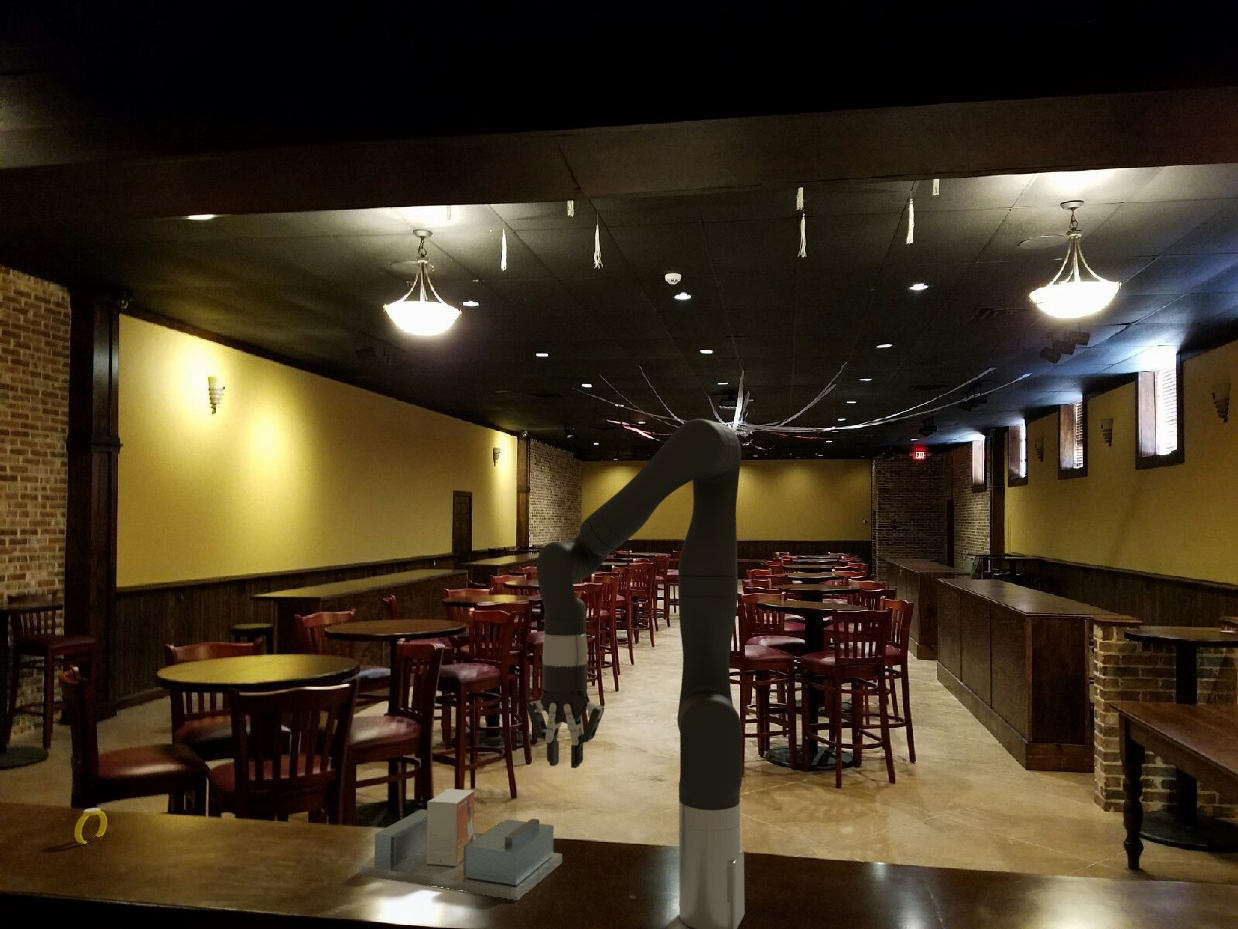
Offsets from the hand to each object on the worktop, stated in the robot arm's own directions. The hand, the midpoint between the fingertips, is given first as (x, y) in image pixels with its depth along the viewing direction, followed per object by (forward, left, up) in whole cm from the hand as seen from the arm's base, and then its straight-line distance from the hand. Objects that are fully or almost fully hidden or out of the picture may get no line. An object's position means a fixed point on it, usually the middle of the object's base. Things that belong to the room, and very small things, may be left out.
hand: (564, 765), depth 146 cm
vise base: (+18, 0, -19) cm, 26 cm away
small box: (+22, 0, -18) cm, 28 cm away
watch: (+91, +13, -19) cm, 94 cm away
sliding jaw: (+10, 0, -17) cm, 20 cm away
